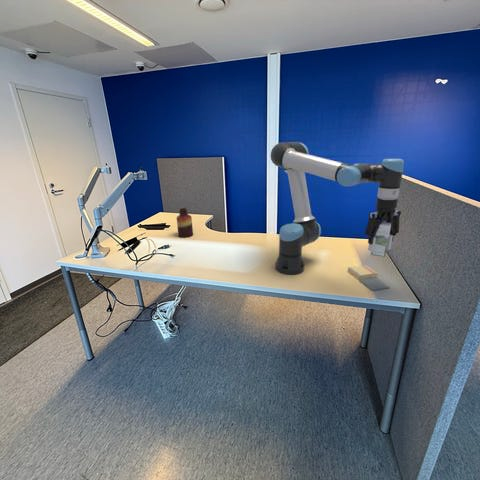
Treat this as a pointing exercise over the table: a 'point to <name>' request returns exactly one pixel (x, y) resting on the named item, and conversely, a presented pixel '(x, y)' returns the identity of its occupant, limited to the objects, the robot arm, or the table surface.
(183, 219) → the brown cylindrical bottle
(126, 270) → the table surface
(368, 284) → the stub mat
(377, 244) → the syrup box
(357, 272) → the board
